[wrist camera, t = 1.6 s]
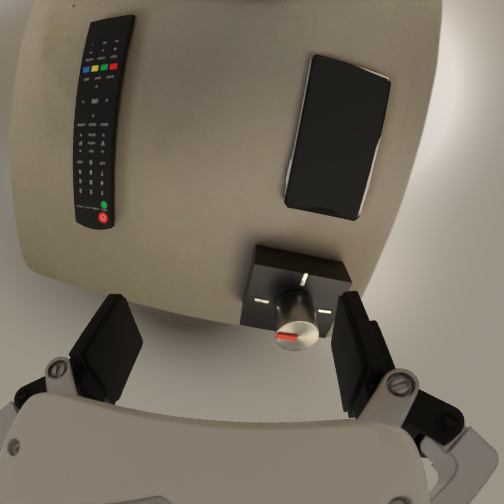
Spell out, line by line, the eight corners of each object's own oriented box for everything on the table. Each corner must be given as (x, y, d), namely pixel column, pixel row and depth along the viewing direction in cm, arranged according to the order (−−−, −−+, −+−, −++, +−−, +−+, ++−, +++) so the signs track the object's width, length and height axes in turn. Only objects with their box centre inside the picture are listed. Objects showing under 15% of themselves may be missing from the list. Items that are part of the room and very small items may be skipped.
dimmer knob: (318, 294, 27) (326, 326, 23) (306, 322, 29) (311, 356, 25) (280, 287, 27) (282, 320, 22) (270, 317, 29) (270, 350, 24)
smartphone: (393, 79, 19) (359, 222, 26) (388, 80, 20) (355, 218, 27) (311, 53, 19) (281, 206, 26) (309, 55, 20) (280, 202, 27)
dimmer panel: (343, 261, 30) (353, 282, 26) (320, 316, 33) (325, 339, 30) (256, 243, 29) (254, 263, 25) (242, 303, 33) (239, 326, 29)
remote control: (138, 17, 18) (132, 14, 16) (117, 227, 29) (111, 232, 28) (97, 24, 18) (90, 22, 16) (82, 221, 29) (76, 225, 28)
